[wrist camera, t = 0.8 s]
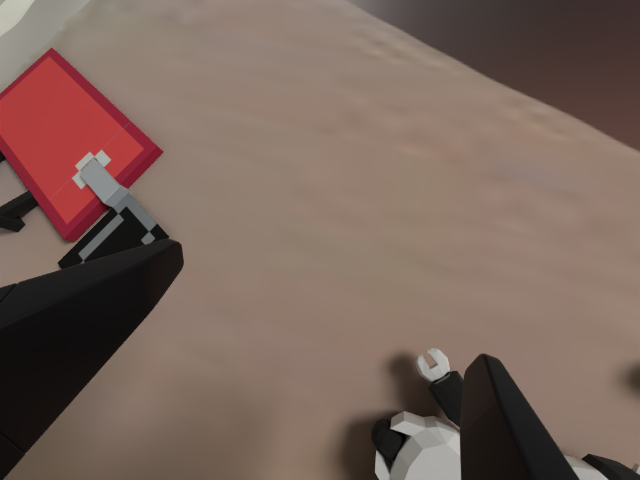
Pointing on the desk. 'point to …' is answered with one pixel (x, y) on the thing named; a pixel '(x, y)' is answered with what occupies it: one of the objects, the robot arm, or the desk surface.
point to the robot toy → (452, 437)
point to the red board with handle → (75, 161)
